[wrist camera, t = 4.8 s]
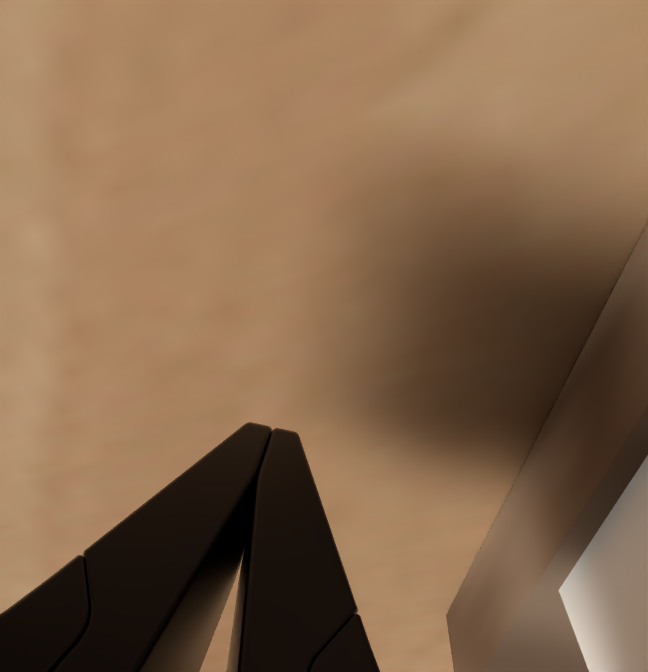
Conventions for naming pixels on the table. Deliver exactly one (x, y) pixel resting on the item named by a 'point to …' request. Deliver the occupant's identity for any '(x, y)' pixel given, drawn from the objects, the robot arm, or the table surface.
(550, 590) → the brown wooden board
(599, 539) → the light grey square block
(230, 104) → the table surface
